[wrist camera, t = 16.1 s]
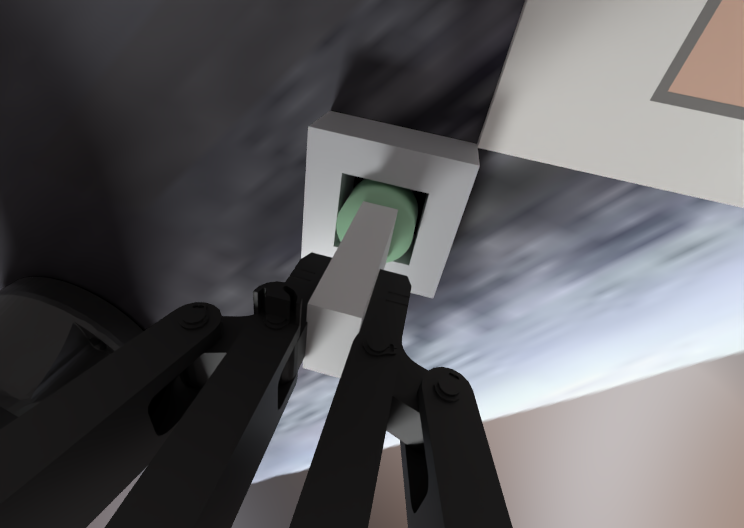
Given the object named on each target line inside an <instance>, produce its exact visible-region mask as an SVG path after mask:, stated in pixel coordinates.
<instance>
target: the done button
mask: <svg viewBox="0 0 744 528" xmlns="http://www.w3.org/2000/svg"><path fill="white" fill-rule="evenodd" d="M363 201H365V202H369V203H373V204H377V205H381V206H386V207H390V208H394V209H398V213H397V217H396V222H395V226H394V230H393V235H392V239H391V243H390V248H389V252H388V257H387V261H386V263H388V262H392V261H394V260H396V259H398V258H400V257H401V256H402V255H403V254H404V253H405V252H406V251H407V250H408V249H409V247H410V245H411V242H412V238H413V234H414V229H415V225H416V220H417V216H418V204H417V200H416V198H415V195H414V194H413V192H412V191H411V189H408V188H403V187H399V186H395V185H391V184H387V183H382V182H378V181H374V180H370V179H364V180H362V181H361V182H360V183H358V184H357V185H356V186H355V188H354V189H353V191H352V192H351V194H350V195H349V197H348V199H347V200H346V202H345V203H344V205H343V207H342V208H341V210H340V212H339V214H338V217H337V221H336V229H337V234H338V237H339V240H340V241H342V239H343V237H344V235H345V234H346V232H347V230H348V228H349V226H350V224H351V222H352V221H353V219H354V217H355V215H356V213H357V211H358V210H359V208H360V206H361V204H362V202H363Z"/></svg>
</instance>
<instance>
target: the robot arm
mask: <svg viewBox="0 0 744 528" xmlns="http://www.w3.org/2000/svg"><path fill="white" fill-rule="evenodd" d="M397 213H398V209H394V208H390V207H386V206H381V205H377V204H373V203H369V202H365V201H363V202H362V204H361V206H360V208H359V210H358V211H357V213H356V215H355V217H354V219H353V221H352V222H351V224H350V226H349V228H348V230H347V232H346V234H345V235H344V237H343V239H342V241H341V243H340V245H339V247H338V248H337V250H336V252H335V254H334V256H333V258H332V257H328V256H324V255H320V254H316V253H312V252H311V253H310V254H308V255H306V256H305V257H303V258H301V259H300V261H299V262H298V264H297V265H296V267H295V269H294V270H293V271H292V273H291V274H290V277H288V279H287V280H286V282H269V283H266V284H263V285H261V286H259V287H258V288H256V289H255V290H254V291H253V301H254V315H250V316H241V317H233V316H221V313H220V310H219V309H218V308H217V307H215V306H214V305H212V304H208V303H202V302H195V303H190V304H186V305H184V306H182V307H180V308H178V309H176V310H174V311H173V312H171V313H170V314H168V315H167V316H165V317H164V318H163V319H161V320H160V321H158V322H157V323H155V324H154V325H152V326H151V327H149V328H148V329H146V330H145V331H143V330H142V329H141V328H140V327H139V326H138V325H137V324H136V323H134V322H133V321H132V320H131V319H130V318H129V317H127V316H126V315H125V314H124V313H122V312H121V311H120V310H118V309H117V308H115V307H114V306H113V305H111V304H110V303H108V302H106V301H105V300H103V299H101V298H100V297H98V296H96V295H94V294H92V293H90V292H88V291H86V290H84V289H82V288H80V287H77V286H75V285H72V284H69V283H67V282H63V281H60V280H56V279H52V278H46V277H26V278H22V279H19V280H17V281H15V282H13V283H12V284H10V285H8V286H7V287H5V288H3V289H2V290H0V528H86V527H87V526H88V525H89V524H90V523H91V522H92V521H93V520H94V519H95V518H96V517H97V516H98V515H99V514H100V513H101V512H102V511H103V510H104V509H105V508H106V507H107V506H108V505H109V504H110V503H111V502H112V501H113V500H114V499H115V498H116V497H117V496H118V495H119V494H120V493H121V492H122V491H123V490H124V489H125V488H126V487H127V486H128V485H129V484H130V483H131V482H132V481H133V480H134V479H135V478H136V477H137V476H138V475H139V474H140V473H141V472H142V471H143V470H144V469H145V468H146V467H147V468H146V469H145V471H144V472H143V473H142V475H141V476H140V478H139V479H138V481H137V482H136V484H135V485H134V486H133V488H132V489H131V491H130V492H129V493H128V495H127V496H126V498H125V499H124V501H123V502H122V504H121V505H120V506H119V508H118V509H117V511H116V512H115V514H114V515H113V516H112V518H111V519H110V521H109V522H108V524H107V525H106V527H105V528H231V527H232V525H233V522H234V520H235V518H236V515H237V513H238V511H239V509H240V507H241V504H242V502H243V500H244V498H245V496H246V494H247V491H248V489H249V487H250V485H251V483H252V480H253V478H254V476H255V474H256V471H257V469H258V467H259V465H260V463H261V460H262V458H263V456H264V454H265V451H266V449H267V447H268V445H269V443H270V440H271V438H272V436H273V434H274V431H275V429H276V427H277V425H278V423H279V420H280V418H281V416H282V414H283V412H284V409H285V407H286V405H287V403H288V400H289V398H290V396H291V394H292V392H293V389H294V387H295V385H296V382H297V377H298V369H299V367H300V365H301V363H302V361H303V368H305V369H309V370H312V371H316V372H319V373H323V374H327V375H330V376H334V377H337V378H340V381H339V384H338V387H337V389H336V392H335V395H334V398H333V401H332V404H331V407H330V410H329V413H328V416H327V419H326V422H325V425H324V427H323V430H322V433H321V436H320V439H319V442H318V445H317V448H316V451H315V454H314V457H313V460H312V463H311V466H310V468H309V471H308V474H307V478H306V480H305V483H304V486H303V489H302V492H301V495H300V498H299V501H298V504H297V506H296V509H295V513H294V515H293V519H292V521H291V524H290V527H289V528H368V524H369V519H370V513H371V508H372V503H373V497H374V491H375V487H376V482H377V476H378V471H379V466H380V460H381V454H382V450H383V444H384V439H385V434H386V431H388V432H389V433H391V434H392V435H394V436H395V437H397V438H398V439H400V445H401V456H402V467H403V478H404V487H405V488H404V489H405V499H406V510H407V520H408V528H513V527H512V524H511V521H510V517H509V514H508V510H507V507H506V503H505V500H504V496H503V493H502V489H501V486H500V483H499V479H498V476H497V472H496V469H495V465H494V462H493V458H492V455H491V451H490V448H489V445H488V441H487V438H486V434H485V431H484V427H483V424H482V420H481V417H480V413H479V410H478V406H477V403H476V399H475V396H474V393H473V390H472V388H471V386H470V384H469V382H468V381H467V380H466V379H465V378H464V377H463V376H462V375H461V374H460V373H458V372H456V371H455V370H453V369H449V368H445V367H437V368H433V369H431V370H429V371H428V370H426V369H425V368H423V367H421V366H420V365H418V364H417V363H415V362H414V361H412V360H411V359H410V358H409V357H408V356H407V354H406V353H405V351H404V349H403V346H402V335H403V329H404V324H405V319H406V314H407V308H408V303H409V297H410V292H411V287H412V286H411V284H410V281H409V279H408V276H406V275H402V274H398V273H394V272H390V271H386V270H384V268H385V265H386V261H387V257H388V252H389V248H390V243H391V239H392V235H393V230H394V226H395V222H396V217H397Z"/></svg>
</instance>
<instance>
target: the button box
mask: <svg viewBox="0 0 744 528" xmlns="http://www.w3.org/2000/svg"><path fill="white" fill-rule="evenodd" d="M479 167H480V163H479V155H478V147H477V144H475V143H471V142H467V141H462V140H458V139H453V138H449V137H444V136H440V135H436V134H431V133H427V132H422V131H418V130H413V129H409V128H405V127H400V126H396V125H391V124H387V123H382V122H378V121H374V120H369V119H365V118H360V117H356V116H351V115H347V114H343V113H338V112H334V111H329V112H328V113H326V114H325V115H324V116H322V117H321V118H319V119H318V120H317V121H315V122H314V123H312V124H311V125H309V126H308V140H307V159H306V178H305V196H304V215H303V234H302V252H301V258H303V257H305V256H306V255H308V254H310V253H311V252H312V253H316V254H320V255H324V256H328V257H332V258H333V256H334V254H335V252H336V250H337V248H338V247H339V245H340V243H341V241H340V240H339V237H338V234H337V229H336V221H337V217H338V214H339V212H340V210H341V208H342V207H343V205H344V203H345V202H346V200H347V199H348V197H349V195H350V194H351V192H352V191H353V186H354V179H355V176H357V177H361V178H366V179H370V180H374V181H378V182H382V183H387V184H391V185H395V186H399V187H403V188H408V189H412V190H416V191H420V192H424V193H427V195H426V199H425V202H424V206H423V210H422V213H421V217H420V221H419V224H418V228H417V232H416V235H414V234H413V238H412V242H411V245H410V247H409V249H408V250H407V251H406V252H405V253H404V254H403V255H402V256H401V257H400V258H398V259H396V260H394V261H392V262H388V263H386V265H385V268H384V270H386V271H390V272H394V273H398V274H402V275H406V276H408V279H409V281H410V284H411V286H412V287H411V292H410V293H414V294H418V295H422V296H426V297H430V298H433V297H434V294H435V292H436V289H437V286H438V283H439V280H440V277H441V275H442V272H443V269H444V266H445V263H446V260H447V258H448V255H449V252H450V249H451V246H452V243H453V240H454V238H455V235H456V232H457V229H458V226H459V223H460V221H461V218H462V215H463V212H464V209H465V206H466V204H467V201H468V198H469V195H470V192H471V189H472V187H473V184H474V181H475V178H476V175H477V172H478V170H479Z"/></svg>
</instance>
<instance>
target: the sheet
mask: <svg viewBox="0 0 744 528" xmlns="http://www.w3.org/2000/svg"><path fill="white" fill-rule="evenodd" d="M477 147H478V148H481V149H485V150H490V151H494V152H499V153H503V154H508V155H512V156H516V157H521V158H525V159H530V160H534V161H538V162H543V163H547V164H552V165H556V166H561V167H565V168H569V169H574V170H578V171H583V172H587V173H591V174H596V175H600V176H605V177H609V178H614V179H618V180H622V181H627V182H631V183H636V184H640V185H644V186H649V187H653V188H658V189H662V190H667V191H671V192H675V193H680V194H684V195H689V196H693V197H697V198H702V199H706V200H711V201H715V202H720V203H724V204H728V205H733V206H737V207H742V208H744V0H525V2H524V5H523V8H522V11H521V14H520V17H519V20H518V23H517V26H516V29H515V32H514V35H513V38H512V41H511V44H510V47H509V50H508V53H507V56H506V59H505V62H504V65H503V68H502V71H501V74H500V77H499V80H498V83H497V86H496V89H495V92H494V95H493V98H492V101H491V104H490V107H489V110H488V113H487V116H486V119H485V122H484V125H483V128H482V131H481V134H480V137H479V140H478V143H477Z"/></svg>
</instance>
